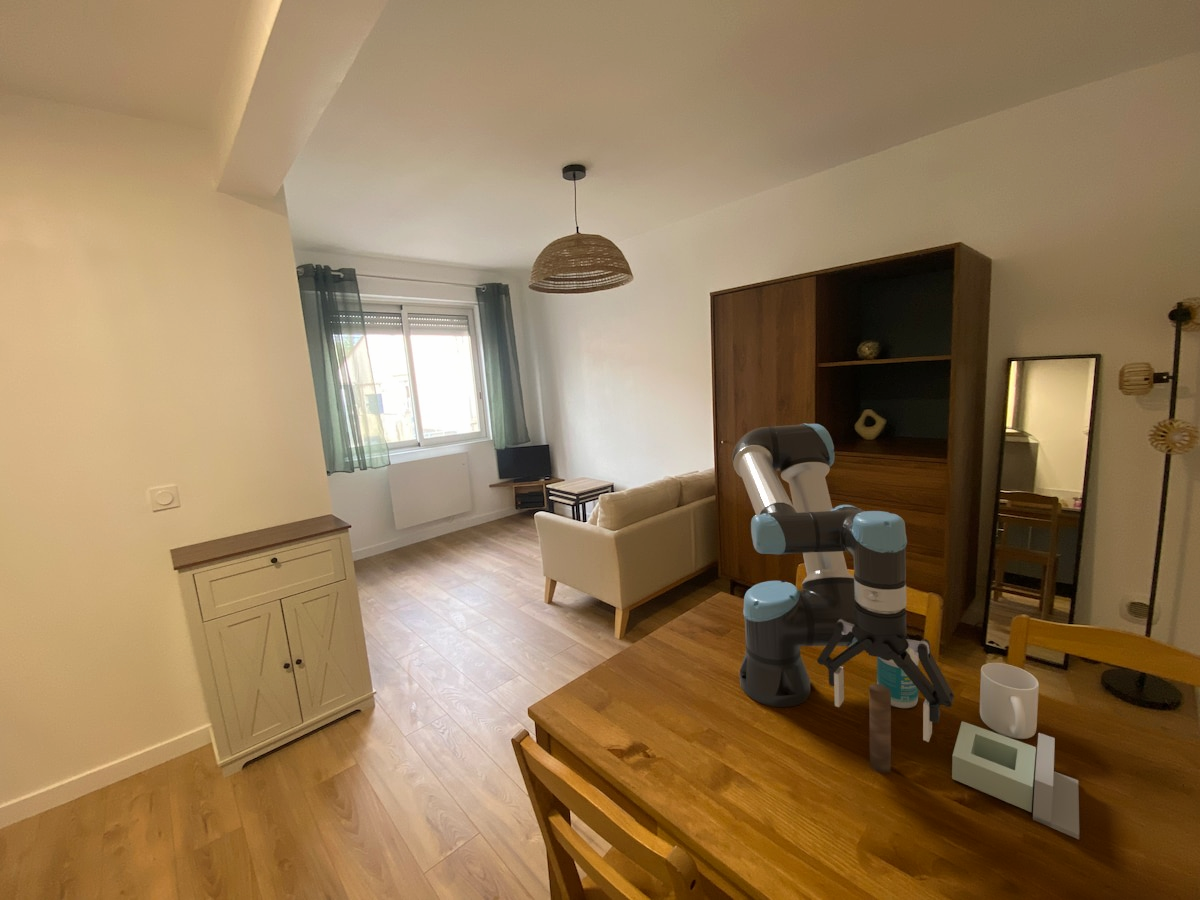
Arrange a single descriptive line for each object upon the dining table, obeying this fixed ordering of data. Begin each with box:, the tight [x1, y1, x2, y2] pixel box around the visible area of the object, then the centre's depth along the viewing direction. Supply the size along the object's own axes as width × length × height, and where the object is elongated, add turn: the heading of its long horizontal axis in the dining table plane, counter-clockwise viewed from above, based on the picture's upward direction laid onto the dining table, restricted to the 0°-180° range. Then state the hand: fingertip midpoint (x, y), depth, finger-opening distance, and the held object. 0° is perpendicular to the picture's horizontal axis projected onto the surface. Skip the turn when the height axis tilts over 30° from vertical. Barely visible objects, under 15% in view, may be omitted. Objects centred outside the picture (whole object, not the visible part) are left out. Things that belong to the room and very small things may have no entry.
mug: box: [979, 662, 1040, 740], centre depth 89 cm, size 12×8×10 cm
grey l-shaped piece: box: [1032, 732, 1080, 840], centre depth 75 cm, size 5×12×7 cm, turn 136°
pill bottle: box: [876, 647, 920, 709], centre depth 100 cm, size 8×7×14 cm
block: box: [951, 720, 1037, 814], centre depth 80 cm, size 10×10×4 cm
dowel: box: [868, 683, 892, 775], centre depth 83 cm, size 3×3×15 cm
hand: (881, 718), depth 83 cm, fingers open, 13 cm apart
